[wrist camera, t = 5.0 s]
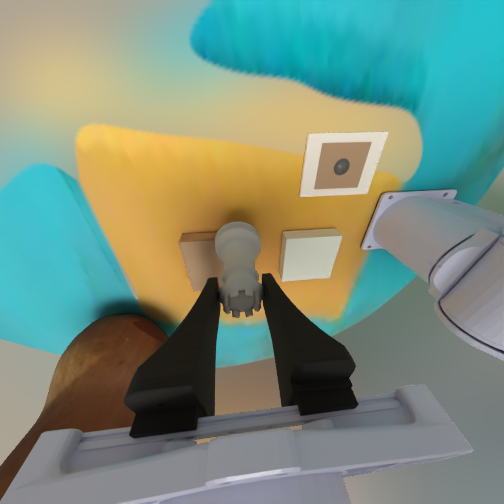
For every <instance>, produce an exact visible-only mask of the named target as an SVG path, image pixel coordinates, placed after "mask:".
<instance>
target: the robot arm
mask: <svg viewBox="0 0 504 504" xmlns="http://www.w3.org/2000/svg"><path fill="white" fill-rule="evenodd" d="M456 194H457V190H453V189H449V190H428V191H407V192H386V193H384V194H382V196H381V198H380V200H379V203H378V205H377V208H376V210H375V213H374V215H373V218H372V220H371V223H370V225H369V228H368V230H367V233H366V235H365V238H364V240H363V243H362V245H361V248H362V249H363V250H370V249H385V250H386V251H388V252H389V253H390V254H392V255H393V256H394V257H395V258H397V259H398V260H399V261H400V262H402V263H403V264H404V265H405V266H407V267H408V268H409V269H410V270H412V271H413V272H414V273H415V274H417V275H418V276H419V277H420V278H422V279H423V280H424V281H425V282H427V283H428V284H429V285H430V288H429V290H428V293H429V294H431V295H432V296H433V297H434V298H435V299H436V301H435V303H434V309H435V312H436V314H437V315H438V317H439V319H440V320H441V321H442V322H443V323H444V325H445V326H446V327H447V328H448V329H449V330H450V331H452V332H453V333H454V334H455V335H456V336H458V337H459V338H460V339H462V340H463V341H465V342H467V343H468V344H470V345H472V346H474V347H475V348H477V349H479V350H482V351H484V352H487V353H488V354H491V355H493V356H495V357H497V358H499V359H501V360H502V361H504V215H501V214H498V213H495V212H492V211H488V210H486V209H482V208H479V207H477V206H474V205H470V204H467V203H464V202H461V201H458V200H455V199H454V197H455V195H456ZM389 196H390V198H389ZM262 286H263V288H264V297H263V299H262V300H263V306H264V310H265V314H266V318H267V322H268V326H269V330H270V334H271V338H272V344H273V350H274V356H275V363H276V369H277V376H278V383H279V389H280V398H281V405H282V407H279V408H271V409H264V410H256V411H248V412H240V413H233V414H225V415H218V416H215V361H216V340H217V332H218V324H219V316H220V301H219V300H218V294H217V293H218V291H219V283H218V277H211V278H208V279H207V282H206V284H205V286H204V288H203V290H202V292H201V294H200V296H199V297H198V299H197V301H196V303H195V304H194V306H193V307H192V309H191V310H190V312H189V313H188V315H187V316H186V317H185V319H184V320H183V321H182V323H181V324H180V325H179V326H178V328H177V329H176V330H175V331H174V332H173V334H172V335H171V336H170V337H169V338H168V339H167V340H166V341H165V342H164V343H163V344H162V345H161V346H160V347H159V348H158V349H157V350H156V351H155V352H154V353H153V354H152V355H151V356H150V357H149V358H148V359H147V360H146V361H145V362H143V363H142V364H141V365H140V366H139V367H138V368H137V370H136V372H135V374H134V376H133V378H132V380H131V382H130V385H129V387H128V390H127V392H126V395H125V397H124V404H125V405H126V406H127V407H128V408H129V409H130V410H132V411H133V412H134V413H135V414H136V415H135V418H134V421H133V424H132V427H125V428H117V429H110V430H102V431H94V432H87V433H83V432H82V431H80V430H78V429H62V430H54V431H46V432H44V433H42V434H41V436H40V437H39V439H38V441H37V442H36V444H35V446H34V447H33V449H32V450H31V452H30V454H29V455H28V457H27V459H26V460H25V462H24V463H23V465H22V467H21V468H20V470H19V472H18V473H17V475H16V476H15V478H14V480H13V481H12V483H11V485H10V486H9V488H8V490H7V491H6V493H5V494H4V496H3V498H2V499H1V501H0V504H351V501H350V498H349V495H348V492H347V489H346V486H345V483H344V480H343V478H344V477H349V476H355V475H359V474H365V473H371V472H377V471H381V470H387V469H393V468H399V467H404V466H410V465H415V464H421V463H427V462H433V461H439V460H443V459H447V458H450V457H455V456H459V455H463V454H466V453H470V452H473V448H472V447H471V445H470V444H469V443H468V442H467V440H466V439H465V437H464V436H463V435H462V433H461V432H460V431H459V429H458V428H457V427H456V425H455V424H454V423H453V422H452V420H451V419H450V418H449V416H448V415H447V414H446V412H445V411H444V410H443V408H442V407H441V406H440V404H439V403H438V402H437V400H436V399H435V398H434V396H433V395H432V394H431V393H430V391H429V390H428V388H427V387H426V386H425V385H424V384H415V385H408V386H402V387H400V388H398V389H397V390H396V391H395V392H394V393H387V394H379V395H371V396H364V397H355V396H354V393H353V391H352V389H351V387H352V383H351V381H350V379H349V377H350V376H351V374H352V373H353V372H354V370H355V367H356V366H355V363H354V361H353V359H352V357H351V355H350V354H349V352H348V351H347V349H346V348H345V346H344V345H342V344H341V343H339V342H338V341H336V340H335V339H333V338H332V337H330V336H329V335H328V334H326V333H325V332H324V331H322V330H321V329H320V328H319V327H317V326H316V325H315V324H314V323H313V322H311V321H310V320H309V319H308V318H307V317H306V316H305V315H304V314H303V313H302V312H301V311H300V310H299V309H298V308H297V307H296V306H295V305H294V304H293V303H292V302H291V301H290V299H289V298H288V297H287V296H286V295H285V293H284V292H283V291H282V289H281V288H280V287H279V285H278V284H277V282H276V281H275V279H274V277H273V276H272V274H271V273H267V274H262ZM298 425H302V430H291V429H288V428H283V427H290V426H298ZM276 428H278V429H276ZM254 431H255V432H254ZM247 432H248V433H247ZM218 436H222V437H218ZM210 437H217V438H215V439H213V440H211V441H210V442H206V443H201V444H197V442H196V441H193V440H197V439H204V438H210ZM196 444H197V445H196Z"/></svg>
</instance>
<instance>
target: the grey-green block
mask: <svg viewBox="0 0 504 504" xmlns="http://www.w3.org/2000/svg"><path fill="white" fill-rule="evenodd" d="M342 237H343V235H342V234H341V233H340V232H339V231H338V230H336V229H335V228H329V229H313V230H296V231H283V234H282V245H281V255H280V266H279V274H280V277H281V280H282V282H283V281H296V280H308V279H321V278H330V275H331V272H332V268H333V265H334V262H335V259H336V256H337V253H338V249H339V246H340V243H341V240H342Z"/></svg>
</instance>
